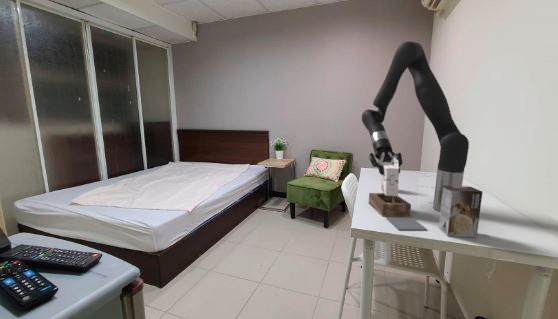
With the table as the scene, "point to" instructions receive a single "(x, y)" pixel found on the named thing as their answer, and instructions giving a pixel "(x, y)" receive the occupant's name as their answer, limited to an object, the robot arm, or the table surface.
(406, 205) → the walnut holder
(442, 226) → the coffee box
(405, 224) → the grey mat
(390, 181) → the ink cartridge box
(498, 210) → the table surface
